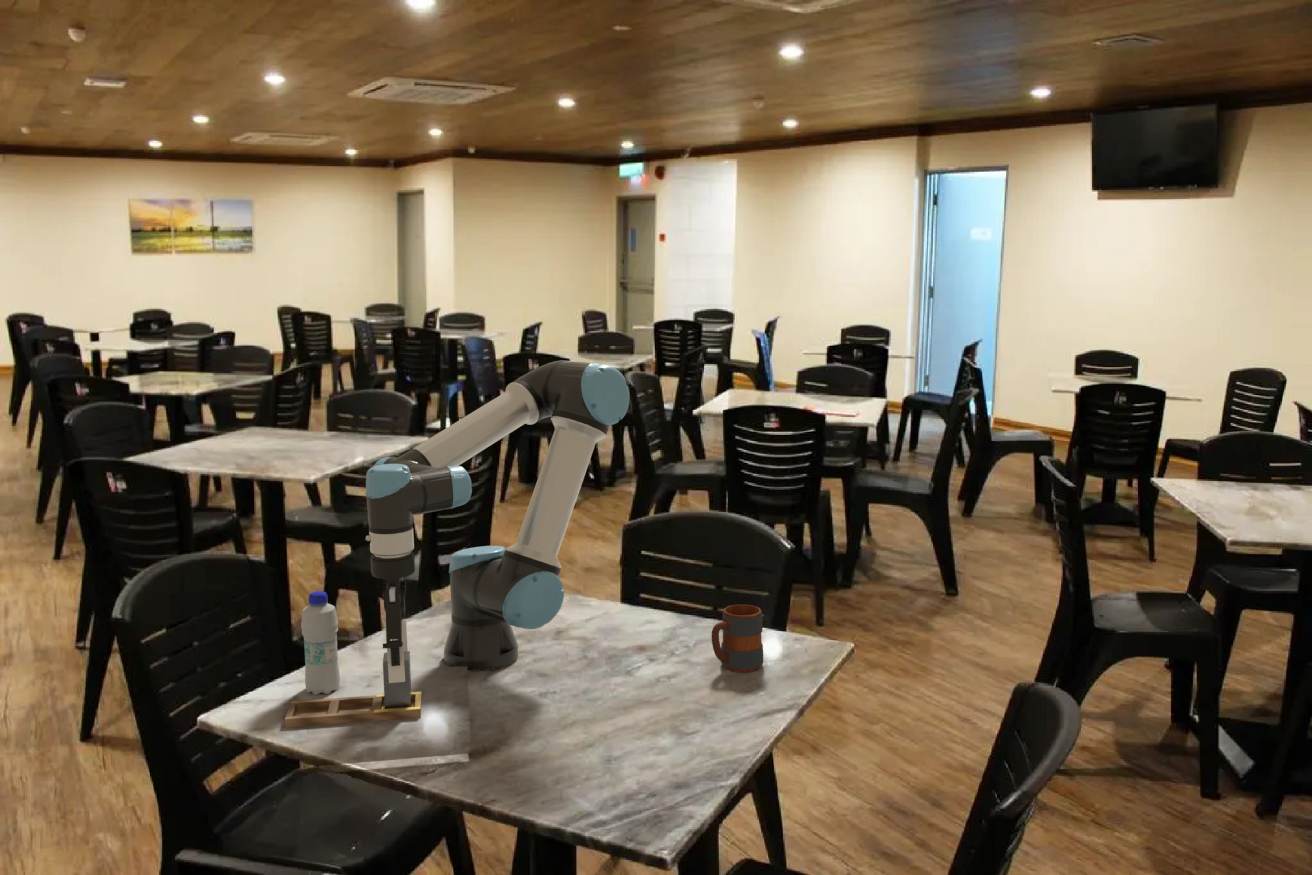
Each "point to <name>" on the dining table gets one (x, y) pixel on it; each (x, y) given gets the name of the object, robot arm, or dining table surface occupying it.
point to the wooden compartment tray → (348, 710)
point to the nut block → (397, 686)
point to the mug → (739, 638)
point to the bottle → (320, 645)
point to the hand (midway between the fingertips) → (398, 667)
